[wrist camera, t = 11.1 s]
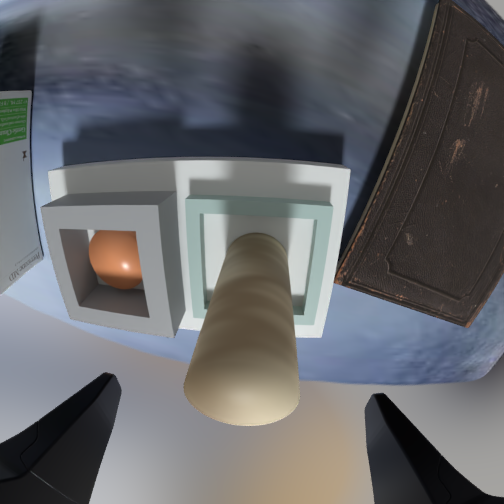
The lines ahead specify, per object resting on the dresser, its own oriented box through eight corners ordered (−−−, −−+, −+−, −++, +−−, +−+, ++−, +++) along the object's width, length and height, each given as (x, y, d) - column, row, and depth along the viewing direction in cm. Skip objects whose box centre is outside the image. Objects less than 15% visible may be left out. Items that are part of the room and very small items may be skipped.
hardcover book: (327, 266, 20) (333, 282, 18) (428, 2, 11) (442, -7, 9) (460, 315, 21) (471, 329, 19) (543, 114, 12) (559, 116, 10)
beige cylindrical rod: (290, 234, 16) (309, 363, 7) (284, 289, 18) (291, 427, 9) (225, 230, 17) (175, 353, 8) (225, 286, 18) (191, 419, 9)
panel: (341, 164, 16) (367, 179, 12) (317, 321, 21) (326, 367, 17) (64, 166, 17) (20, 181, 13) (89, 299, 22) (61, 333, 18)
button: (147, 223, 17) (141, 229, 16) (155, 284, 18) (150, 292, 18) (91, 222, 17) (83, 227, 16) (102, 278, 19) (96, 285, 18)
